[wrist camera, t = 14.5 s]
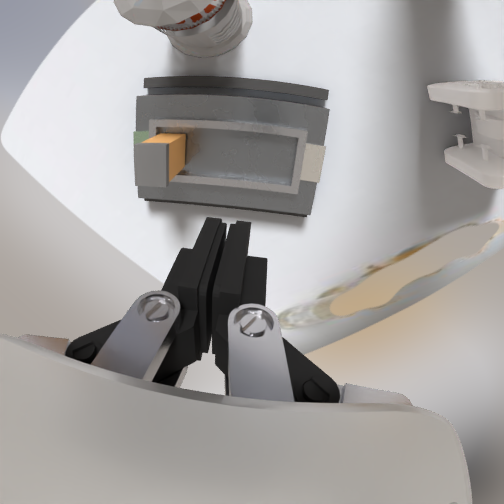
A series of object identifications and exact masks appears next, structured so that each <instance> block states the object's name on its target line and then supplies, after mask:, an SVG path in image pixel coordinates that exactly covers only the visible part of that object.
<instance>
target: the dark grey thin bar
mask: <svg viewBox="0 0 504 504" xmlns="http://www.w3.org/2000/svg"><path fill="white" fill-rule="evenodd" d="M144 199H145V201H158V202H170V203H182V204H194V205H205V206H215V207H225V208H235V209H244V210H253V211H262V212H270V213H279V214H287V215H294V216H302V217H307V215H305V214H298V213H290V212H282V211H274V210H265V209H257V208H248V207H239V206H229V205H219V204H209V203H198V202H187V201H175V200H162V199H148V198H144Z"/></svg>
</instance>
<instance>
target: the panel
mask: <svg viewBox="0 0 504 504" xmlns="http://www.w3.org/2000/svg"><path fill="white" fill-rule="evenodd" d="M329 110H330V109H327V108H323V107H318V106H313V105H307V104H301V103H294V102H288V101H280V100H273V99H264V98H254V97H243V96H229V95H208V94H161V95H143V96H137V100H136V131H134V144H136V143H141V142H143V141H145V140H147V139H150V138H152V137H154V136H156V135H158V134H160V133H172V134H186V141H185V167H184V168H183V169H182V170H181V171H180V172H179V173H178V174H177V175H176V176H175V177H174V178H173V179H172V180H171V181H170V182H169V185H168V186H167V187H149V186H138V198H148V199H162V200H175V201H187V202H198V203H209V204H219V205H229V206H239V207H248V208H257V209H265V210H274V211H282V212H290V213H298V214H305V215H310V214H311V209H312V204H313V200H314V195H315V190H316V184H317V182H318V183H319V181H320V175H321V170H322V165H323V160H324V154H325V148H326V147H325V146H324V141H325V135H326V129H327V123H328V116H329Z"/></svg>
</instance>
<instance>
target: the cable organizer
mask: <svg viewBox="0 0 504 504" xmlns="http://www.w3.org/2000/svg"><path fill="white" fill-rule="evenodd" d="M427 89H428V94H429V98H430V100H432V101H437V102H443V103H448V104H452V105H453V110H454V111H453V110H452V111H450V112H453V113H461V111H459V108H458V106H462V107H466V108H469V114H470V120H471V128H472V137H473V143H468V144H464V143H463V138H467V137H465V135H459V134H457V135H453V136H457V137H458V146H453V147H449V148H447V149H445V150H444V155H445V162H446V163H447V164H449V165H450V166H452V167H454V168H456V169H457V170H459V171H461V172H462V173H464V174H466V175H467V176H469V177H470V178H472V179H474V180H475V181H477V182H478V183H480V184H481V185H483V186H485V187H488V188H492V189H503V188H504V82H503V81H485V80H479V81H455V82H445V83H436V84H431V85H428V86H427Z"/></svg>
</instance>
